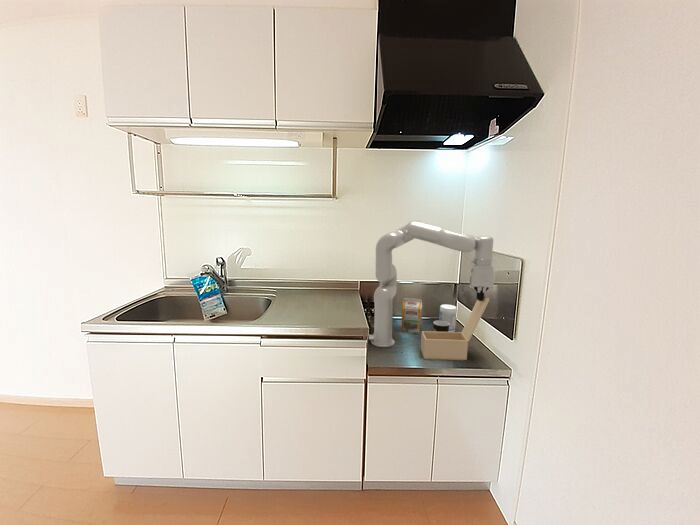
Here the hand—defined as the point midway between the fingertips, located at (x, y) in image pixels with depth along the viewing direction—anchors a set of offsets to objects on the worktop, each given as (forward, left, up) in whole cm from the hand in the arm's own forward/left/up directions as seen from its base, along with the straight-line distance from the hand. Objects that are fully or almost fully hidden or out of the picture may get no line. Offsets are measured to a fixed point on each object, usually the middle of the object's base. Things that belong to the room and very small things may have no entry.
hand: (479, 300), depth 163 cm
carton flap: (-2, 0, -8) cm, 8 cm away
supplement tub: (-6, +35, -29) cm, 46 cm away
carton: (-16, 0, -28) cm, 33 cm away
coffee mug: (-13, +20, -29) cm, 37 cm away
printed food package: (-27, +34, -29) cm, 52 cm away
